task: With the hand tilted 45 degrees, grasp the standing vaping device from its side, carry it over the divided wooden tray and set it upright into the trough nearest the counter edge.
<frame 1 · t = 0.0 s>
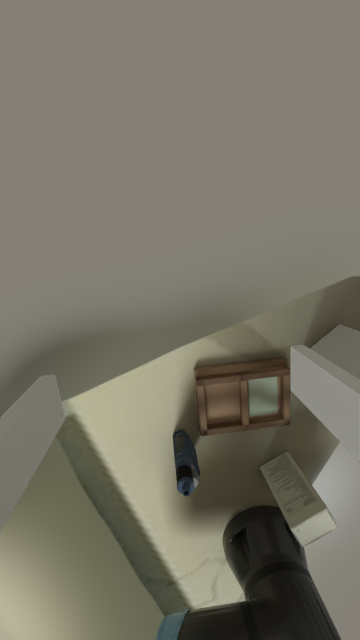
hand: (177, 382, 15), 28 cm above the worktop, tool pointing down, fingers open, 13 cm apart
skincare box: (278, 465, 51), on the worktop
vaping device: (183, 440, 49), on the worktop
soap bottle: (331, 357, 47), on the worktop
divided wooden tray: (240, 395, 47), on the worktop
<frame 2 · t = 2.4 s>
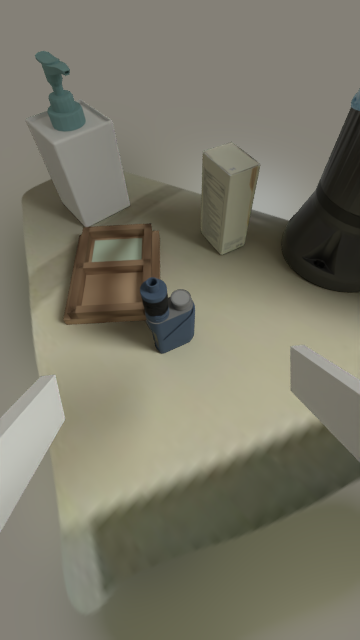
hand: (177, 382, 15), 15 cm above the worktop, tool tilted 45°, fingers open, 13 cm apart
skincare box: (221, 239, 43), on the worktop
vaping device: (173, 340, 34), on the worktop
soap bottle: (96, 205, 47), on the worktop
divided wooden tray: (117, 276, 39), on the worktop
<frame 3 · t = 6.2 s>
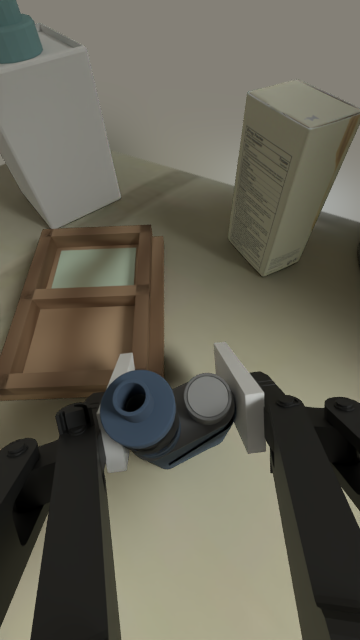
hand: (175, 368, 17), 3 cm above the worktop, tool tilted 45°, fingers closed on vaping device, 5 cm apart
skincare box: (260, 250, 27), on the worktop
vaping device: (187, 438, 18), on the worktop, touching gripper
soap bottle: (72, 198, 32), on the worktop
divided wooden tray: (94, 310, 24), on the worktop
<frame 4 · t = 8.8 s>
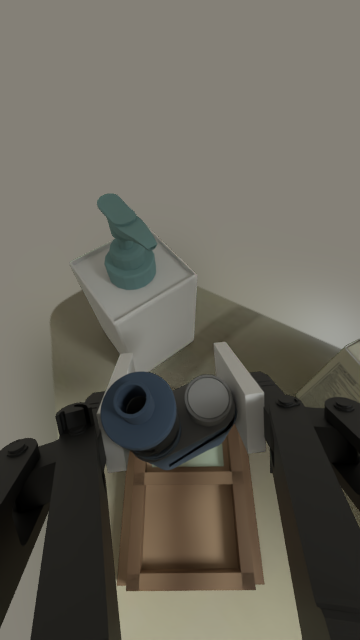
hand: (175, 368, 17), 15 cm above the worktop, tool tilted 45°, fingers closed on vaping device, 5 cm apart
skincare box: (325, 410, 31), on the worktop
vaping device: (187, 439, 18), point 12 cm above the worktop, touching gripper
soap bottle: (148, 336, 36), on the worktop
divided wooden tray: (188, 478, 27), on the worktop
when the fingers open (6 cm above the worktop, at t = 11.4 s): vaping device drops 1 cm, resting on divided wooden tray.
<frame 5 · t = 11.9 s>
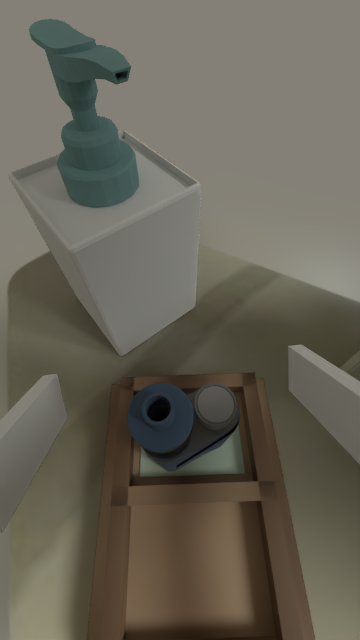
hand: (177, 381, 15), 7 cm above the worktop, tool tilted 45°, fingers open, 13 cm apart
vaping device: (189, 442, 20), point 1 cm above the worktop, touching divided wooden tray
soap bottle: (136, 303, 28), on the worktop
divided wooden tray: (192, 492, 19), on the worktop
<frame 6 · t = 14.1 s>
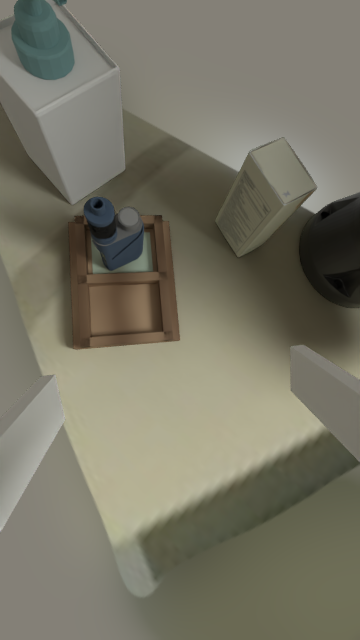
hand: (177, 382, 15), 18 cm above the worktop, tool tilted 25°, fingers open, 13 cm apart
skincare box: (237, 232, 37), on the worktop
vaping device: (121, 256, 33), point 1 cm above the worktop, touching divided wooden tray
soap bottle: (78, 164, 35), on the worktop
divided wooden tray: (124, 283, 34), on the worktop
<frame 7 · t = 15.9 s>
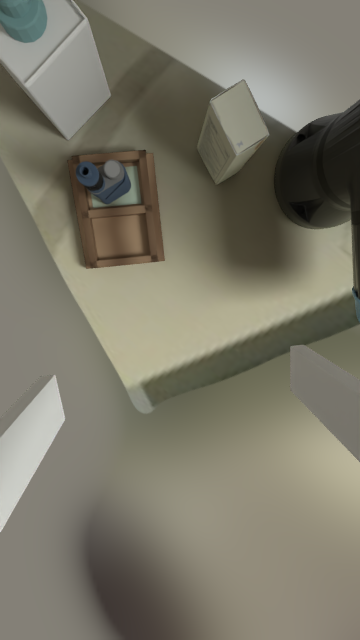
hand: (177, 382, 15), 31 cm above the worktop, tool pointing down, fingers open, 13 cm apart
skincare box: (217, 158, 41), on the worktop
vaping device: (114, 190, 40), point 1 cm above the worktop, touching divided wooden tray
soap bottle: (67, 93, 38), on the worktop
divided wooden tray: (119, 214, 42), on the worktop
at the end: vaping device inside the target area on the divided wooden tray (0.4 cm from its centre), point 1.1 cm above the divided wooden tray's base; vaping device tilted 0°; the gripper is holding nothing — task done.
